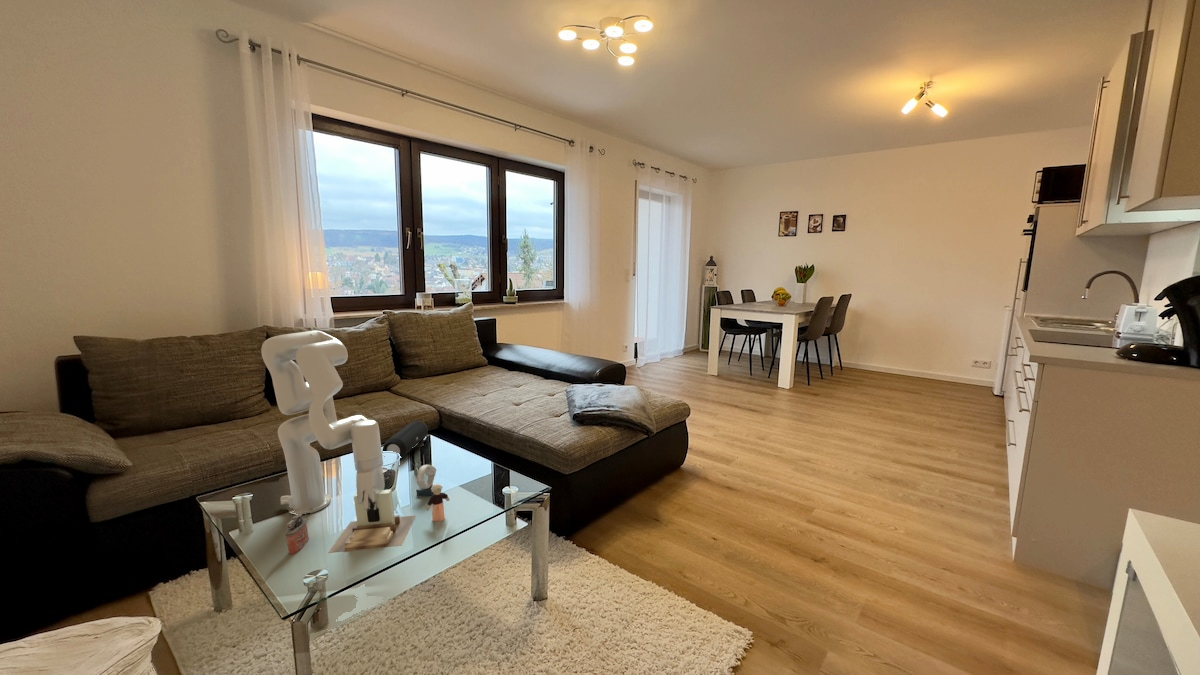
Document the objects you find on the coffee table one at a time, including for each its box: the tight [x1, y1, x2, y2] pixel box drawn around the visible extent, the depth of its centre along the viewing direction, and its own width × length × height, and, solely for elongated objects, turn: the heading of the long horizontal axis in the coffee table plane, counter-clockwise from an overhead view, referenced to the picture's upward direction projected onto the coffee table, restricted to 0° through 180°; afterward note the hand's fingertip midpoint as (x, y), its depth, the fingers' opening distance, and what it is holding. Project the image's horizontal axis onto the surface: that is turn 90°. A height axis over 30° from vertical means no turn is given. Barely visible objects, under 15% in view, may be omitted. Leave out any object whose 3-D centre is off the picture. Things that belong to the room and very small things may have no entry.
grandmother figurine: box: [425, 482, 450, 522], centre depth 146 cm, size 8×4×13 cm, turn 148°
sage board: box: [353, 489, 395, 526], centre depth 141 cm, size 10×2×12 cm, turn 97°
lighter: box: [284, 514, 310, 555], centre depth 134 cm, size 8×3×10 cm, turn 5°
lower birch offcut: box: [345, 531, 393, 548], centre depth 136 cm, size 12×4×2 cm, turn 97°
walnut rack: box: [328, 514, 417, 554], centre depth 140 cm, size 20×16×4 cm
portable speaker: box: [381, 420, 429, 459], centre depth 204 cm, size 26×10×10 cm, turn 177°
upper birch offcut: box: [350, 527, 391, 542], centre depth 136 cm, size 10×4×2 cm, turn 97°
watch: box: [416, 464, 437, 497], centre depth 163 cm, size 6×8×11 cm
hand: (375, 518), depth 142 cm, fingers closed on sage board, 2 cm apart
